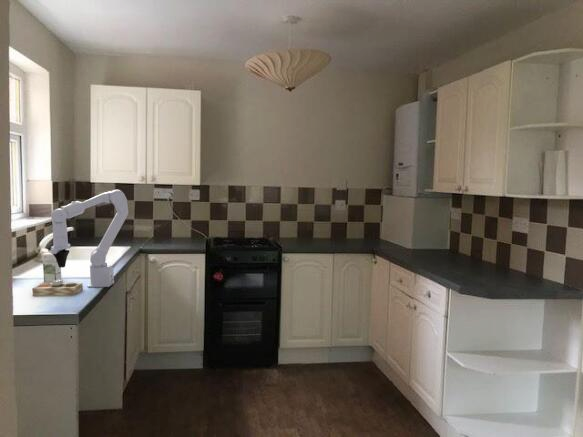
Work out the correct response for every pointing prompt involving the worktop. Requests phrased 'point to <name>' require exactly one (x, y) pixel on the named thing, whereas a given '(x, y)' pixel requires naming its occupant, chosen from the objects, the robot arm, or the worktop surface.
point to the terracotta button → (44, 285)
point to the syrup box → (50, 268)
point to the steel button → (57, 283)
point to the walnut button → (70, 284)
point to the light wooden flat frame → (57, 290)
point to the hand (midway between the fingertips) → (62, 267)
